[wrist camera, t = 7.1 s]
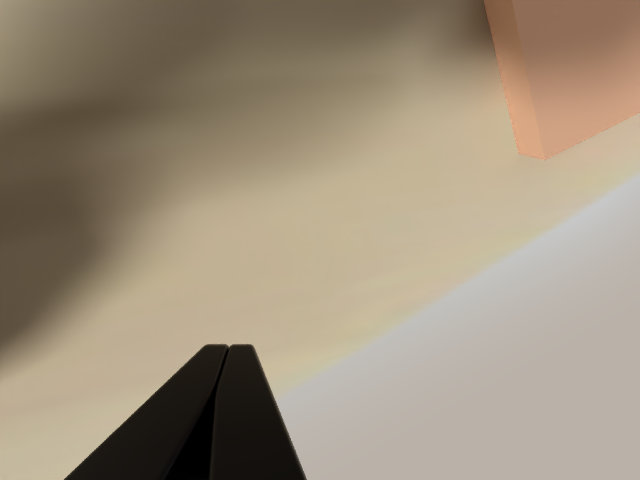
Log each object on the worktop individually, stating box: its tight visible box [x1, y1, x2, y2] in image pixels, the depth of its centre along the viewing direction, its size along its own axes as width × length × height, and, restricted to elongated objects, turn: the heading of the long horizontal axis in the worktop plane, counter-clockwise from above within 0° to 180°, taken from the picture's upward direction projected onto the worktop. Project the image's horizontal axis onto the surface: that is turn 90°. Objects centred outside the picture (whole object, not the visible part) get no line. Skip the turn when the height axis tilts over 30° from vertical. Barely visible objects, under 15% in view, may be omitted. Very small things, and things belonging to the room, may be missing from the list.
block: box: [484, 0, 640, 160], centre depth 19 cm, size 2×7×9 cm
